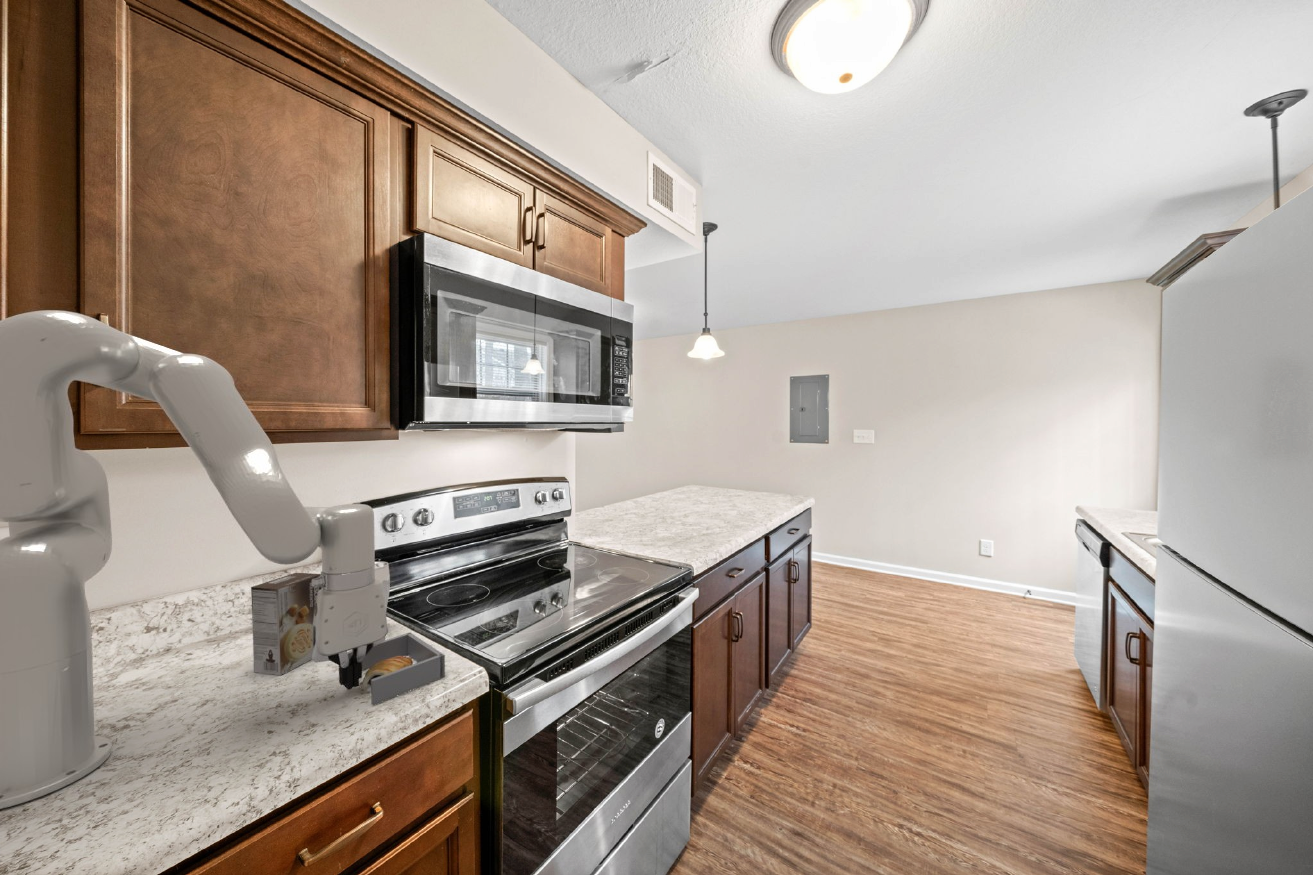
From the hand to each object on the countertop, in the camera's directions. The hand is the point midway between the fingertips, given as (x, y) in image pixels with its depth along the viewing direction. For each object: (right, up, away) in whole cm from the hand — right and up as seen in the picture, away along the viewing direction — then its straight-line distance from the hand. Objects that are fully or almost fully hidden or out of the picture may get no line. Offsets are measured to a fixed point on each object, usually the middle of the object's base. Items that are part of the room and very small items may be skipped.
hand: (350, 685), depth 82 cm
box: (+4, -1, +5) cm, 7 cm away
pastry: (+4, -1, +4) cm, 6 cm away
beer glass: (-10, -1, +23) cm, 25 cm away
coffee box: (-18, -1, +10) cm, 21 cm away
